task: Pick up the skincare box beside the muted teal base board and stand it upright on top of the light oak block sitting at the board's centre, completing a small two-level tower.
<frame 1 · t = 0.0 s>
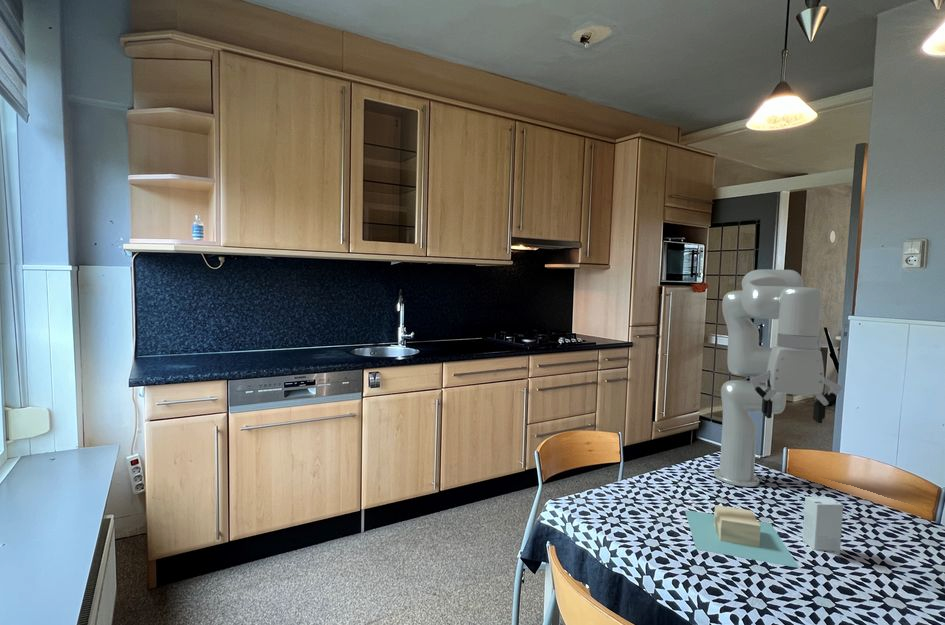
hand: (792, 419, 105), 31 cm above the table, tool pointing down, fingers open, 9 cm apart
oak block: (735, 535, 112), point 1 cm above the table, touching base board
skincare box: (820, 551, 109), on the table
base board: (735, 540, 112), on the table
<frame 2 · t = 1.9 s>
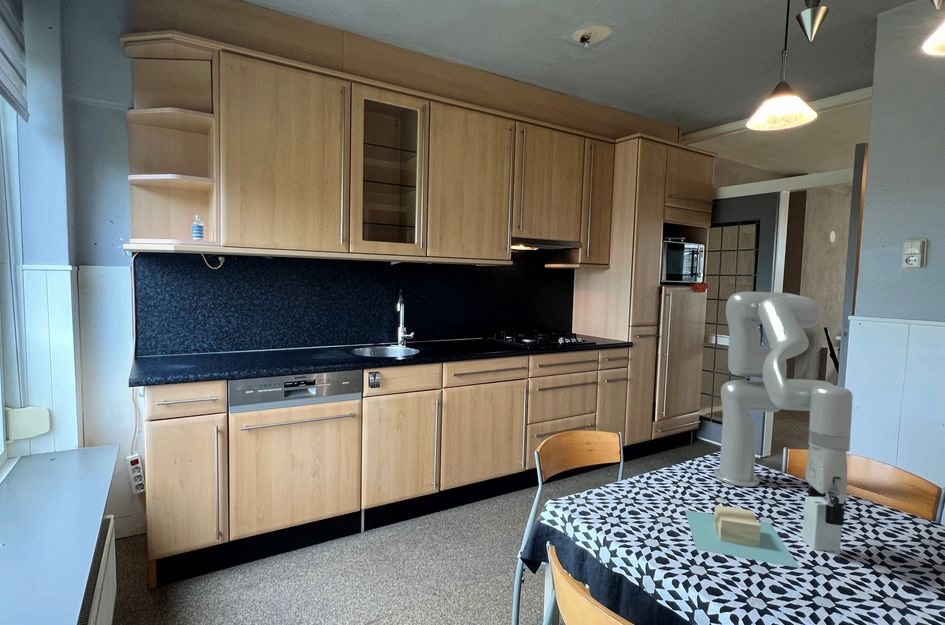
hand: (824, 514, 107), 9 cm above the table, tool pointing down, fingers open, 9 cm apart
nothing on the table moved.
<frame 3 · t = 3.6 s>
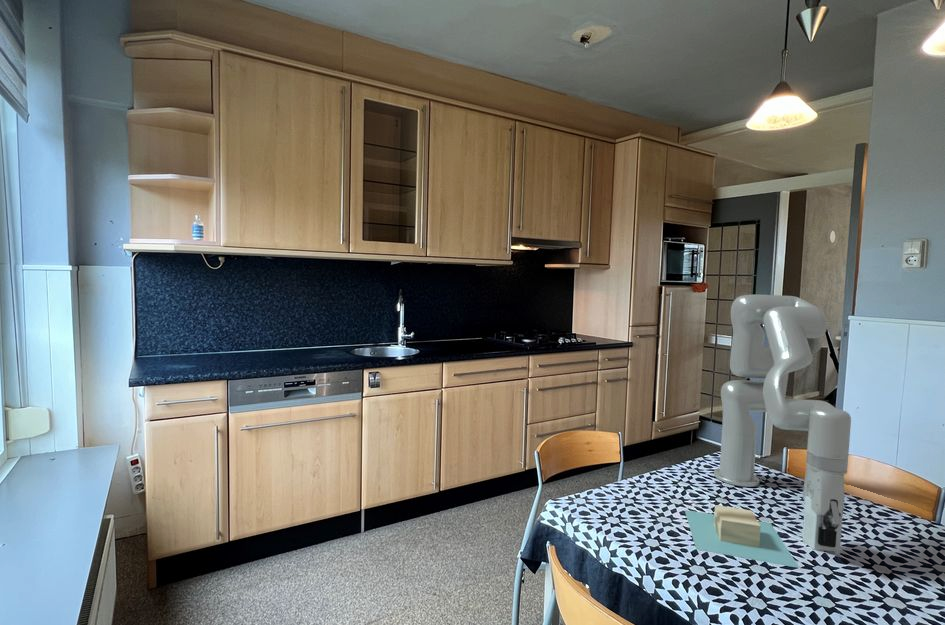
hand: (821, 538, 108), 3 cm above the table, tool pointing down, fingers closed on skincare box, 5 cm apart
skincare box: (820, 551, 109), on the table, touching gripper
everything else where it was.
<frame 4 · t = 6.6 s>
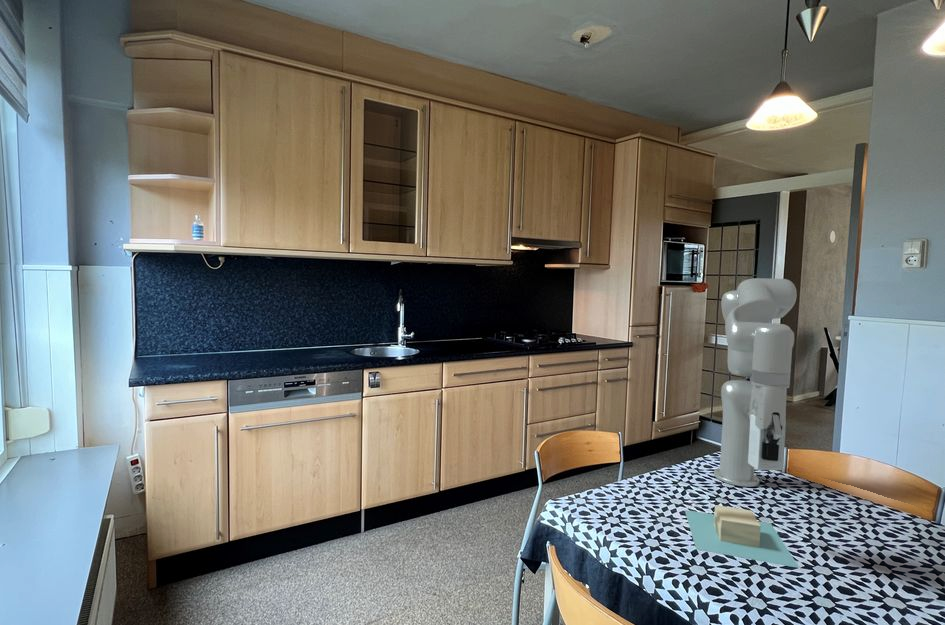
hand: (765, 454, 110), 21 cm above the table, tool pointing down, fingers closed on skincare box, 5 cm apart
skincare box: (765, 468, 110), point 18 cm above the table, touching gripper
everything else where it was.
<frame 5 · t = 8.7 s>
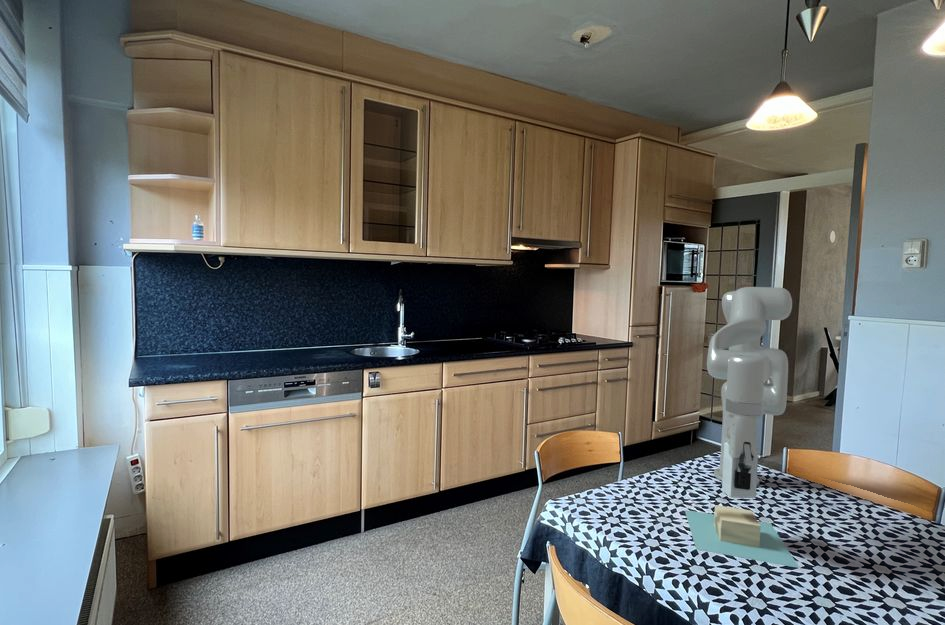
hand: (738, 482, 111), 14 cm above the table, tool pointing down, fingers closed on skincare box, 5 cm apart
skincare box: (738, 496, 111), point 11 cm above the table, touching gripper
everything else where it was.
when the fingers open (10 cm above the table, at t = 10.1 s): skincare box stays where it is, resting on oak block.
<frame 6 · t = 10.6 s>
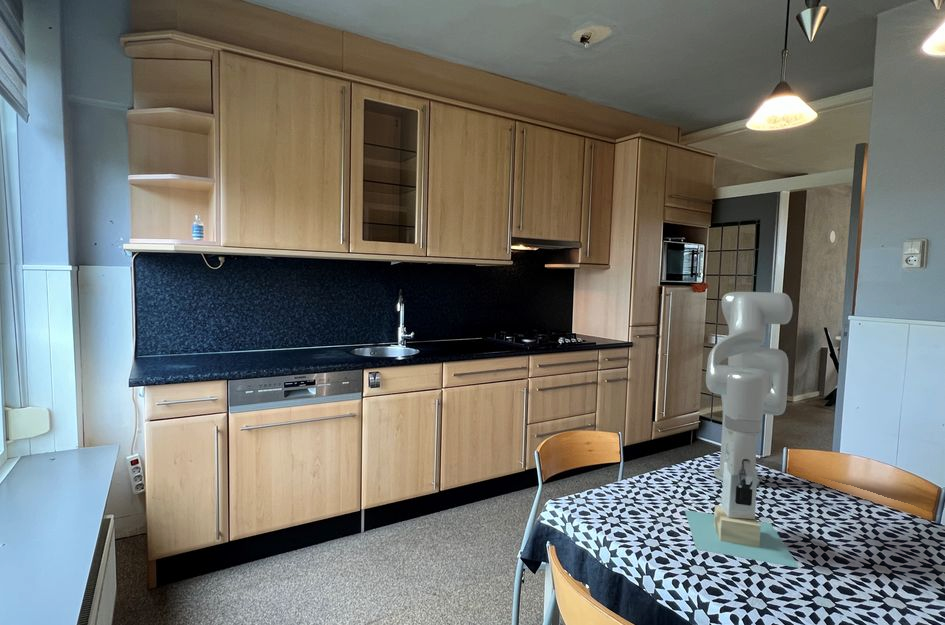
hand: (738, 495, 111), 11 cm above the table, tool pointing down, fingers open, 9 cm apart
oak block: (735, 535, 112), point 1 cm above the table, touching base board, skincare box
skincare box: (737, 515, 112), point 6 cm above the table, touching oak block
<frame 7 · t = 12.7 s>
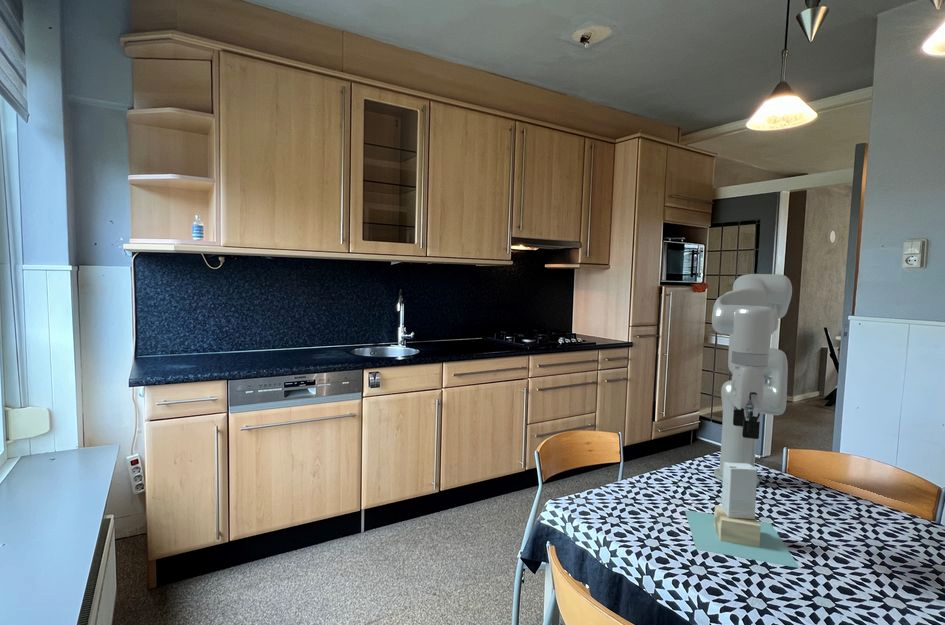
hand: (745, 431, 111), 26 cm above the table, tool pointing down, fingers open, 9 cm apart
nothing on the table moved.
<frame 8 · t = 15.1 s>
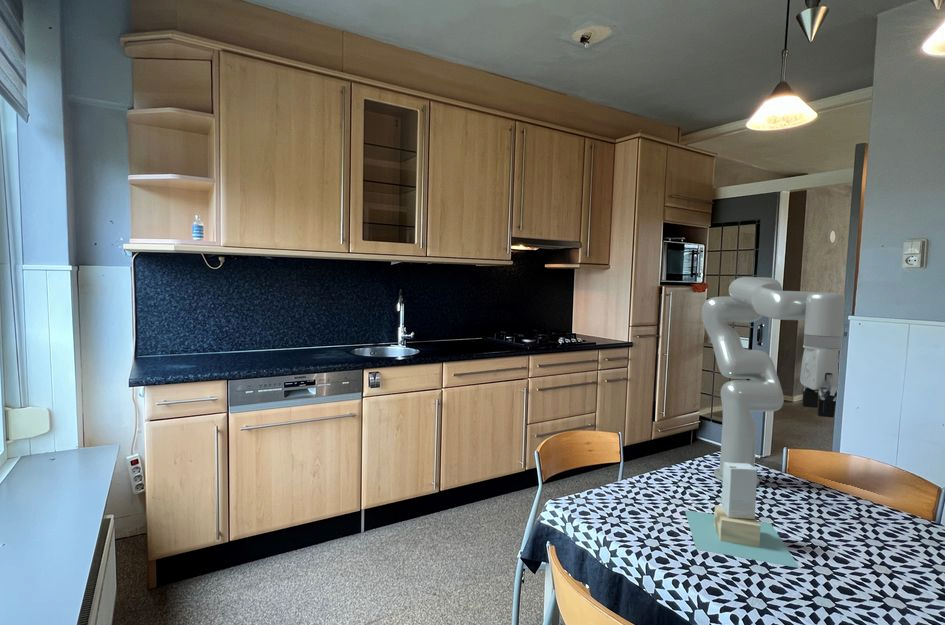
hand: (817, 411, 116), 30 cm above the table, tool pointing down, fingers open, 9 cm apart
nothing on the table moved.
at the end: skincare box 0.1 cm off-centre on the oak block, point 4.8 cm above the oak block's base; skincare box tilted 0°; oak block 0.0 cm from the base board (horizontally) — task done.
